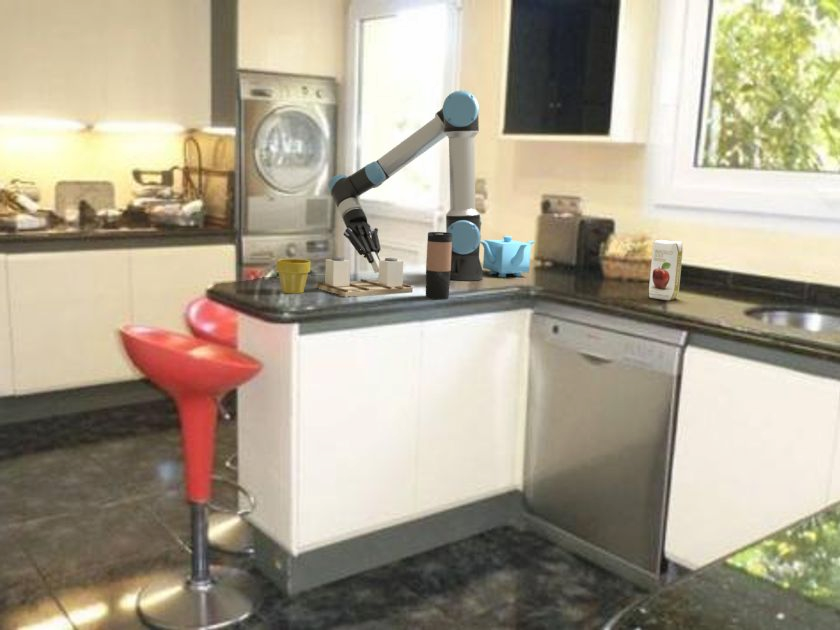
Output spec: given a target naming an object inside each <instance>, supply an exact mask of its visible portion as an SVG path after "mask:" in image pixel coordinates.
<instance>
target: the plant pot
mask: <svg viewBox="0 0 840 630" xmlns="http://www.w3.org/2000/svg"><path fill="white" fill-rule="evenodd" d="M276 271H277V272H278V276H279V281H280V286H281V292H283V293H285V294H303V293H304V292H305V288H306V283H307V279H308V275H309V273H310V272H311V260H309V259H302V258H279V259H277V260H276Z"/></svg>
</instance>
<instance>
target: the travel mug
mask: <svg viewBox="0 0 840 630" xmlns="http://www.w3.org/2000/svg"><path fill="white" fill-rule="evenodd" d="M426 244H427V245H426V262H425V298H427V299H431V300H447V299H449V298H450V297H449V294H450V285H451V284H450V282H451V279H450V273H451V250H452V233H446V231H445V232H443V231H429V232H427V243H426Z"/></svg>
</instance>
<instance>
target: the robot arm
mask: <svg viewBox="0 0 840 630" xmlns="http://www.w3.org/2000/svg"><path fill="white" fill-rule="evenodd" d="M479 110H480V105H479V102H478V100H477V98H476V96H474V95H473V93H471V92H470V91H468V90H455V91H453V92H451V93H449V94H448V95H447V97H445V99H444V101H443V104H442V108H440V110H439V111H437V112H436V113H435V116H434V117H433V118H432V119H431V120H430V121H428V122H427V123H425V124H424V125H423V126H422V127H420V128H419V129H418V130H416V131H415V132H413V133H412V134H411V135H409V136H408V137H406V138H405V139H404V140H403V141H401V142H400V143H399V144H398V145H396V146H395V147H393V148H392V149H391V150H389V151H388V152H386V153H385V154H384V155H382V156H381V157H379V158H378V159H377V160H376V161H372V162H369V163H368V164H365V166H364V167H362V168H360V169H359V170H357V171H355V172H354V173H352V174H351V175H349V176H347V175H345V174H342V173H341V174H340V173H339V174H338V175H335V176H332V177H331V178H330V180H329V181H328V184H327V185H328V188H329V189H328V190H329V192H330V195H331V197H332V199H333V200H334V203H335V205H336V206H337V210H338V212H339V214H340V215H341V219H342V221H343V223H344V225H345V226H346V229H345V230H344V232H343V236H344V237H345V238H346V239H348V241H349V242H350V244H351V245H352V246H353V248H354V249H355V251H356V252H357V254H358V255H359V256H362V257H363V258H364V259H366V260H367V262H368V263H369V264H370V265H371V266H372V270H373V271H374V273H378V274H379V260H381V258H380V256H379V255H378V254H379V253H380V252H381V245H380V240H379V235H378V233H379V229H378V228H377V227H375V228H373V227H371V225H370V224H369V223H368V218H367V216H366V214H365V212H364V210H363V207H362V205H361V203H360V201H359V199H358V197H359V196H361V195H363V194H365V193H366V192H368V191H370V190H371V189H375V188H379V187H380V186H381V185H383V183H384V182H385V181H387V180H389V179H390V178H391V177H392V176H394V175H395V174H396V173H397V172H399V171H401V170H402V169H404V168H405V167H406V166H407V165H409V164H411V162H413V161H414V160H416V159H417V158H418V157H420V156H421V155H423V154H424V153H425V152H427V151H428V150H429V149H431V148H432V147H433V146H435V145H436V144H437V143H439V142H440V141H442V140H443V139H444V138H445V137H447V138H448V157H449V159H448V160H449V161H448V162H449V163H448V164H449V165H448V167H449V169H448V171H449V203H450V204H449V208H450V209H449V211H448V212H447V213H446V214H445V229H446V231H445V232H446V233H452V250H451V273H450V280H452V281H453V280H454V281H469V282H470V281H479V280H483V279H484V278H483V277H484V272H483V266H482V264H481V259H480V248H481V247H480V246H481V245H480V244H481V243H480V241H482V239H481V237H482V236H481V231H482V230H481V229H482V228H481V227H482V218H481V213H480V212H479V211H478V210H477V209H476V167H475V166H476V163H475V162H476V160H475V157H476V156H475V155H476V154H475V137H476V136H477V135H478V134H479V133H480V132H479V130H480V129H479V127H480V125H479V124H480V123H479V122H480V121H479V114H480V113H479Z"/></svg>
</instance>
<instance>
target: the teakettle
mask: <svg viewBox="0 0 840 630" xmlns="http://www.w3.org/2000/svg"><path fill="white" fill-rule="evenodd" d="M536 242H537V240H529V241H527V242H523V241H519V240H513V236H511V235H509V236H508V235H504V236H502V239H484V241H482V240H480V244H481V245H482V246H483V265H482V269H485V270H489V273H488V275H492V274H495V275H497V273H498V275H497V276H498V278H507V275H514V277H515V276H516V278H522V277H523V275H522V274H525V273H527V274H528V273H530V264H531V263H530V261H531V247H532V245H533V243H536Z"/></svg>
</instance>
